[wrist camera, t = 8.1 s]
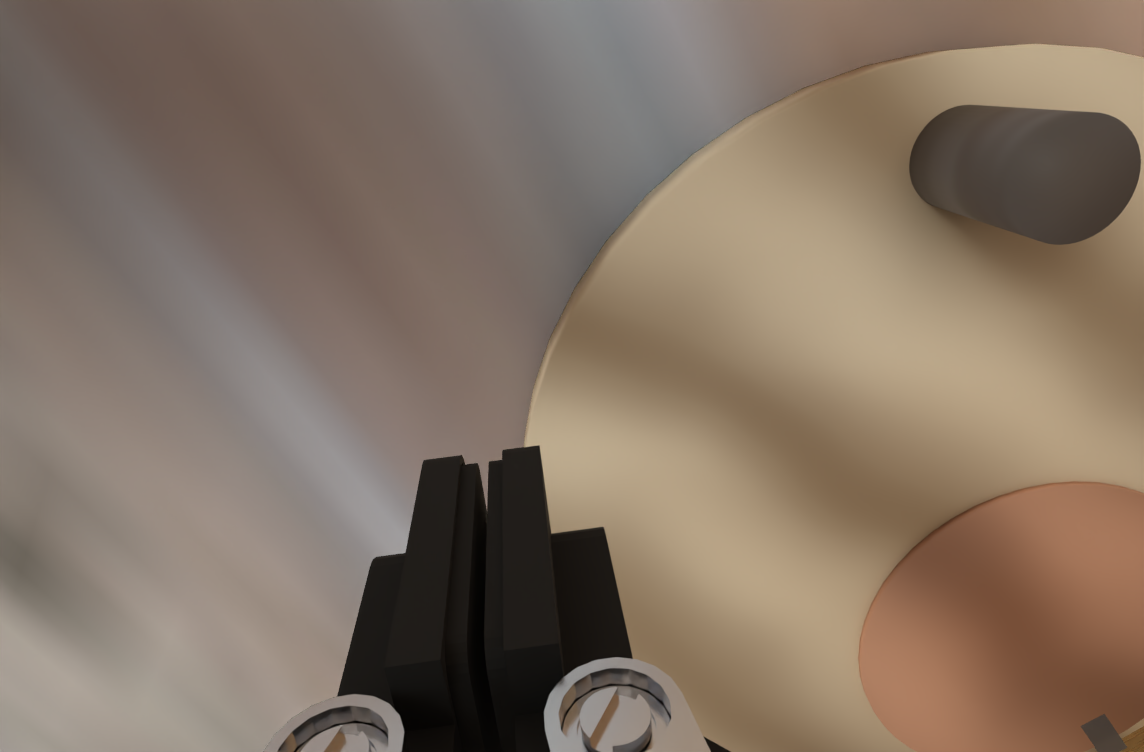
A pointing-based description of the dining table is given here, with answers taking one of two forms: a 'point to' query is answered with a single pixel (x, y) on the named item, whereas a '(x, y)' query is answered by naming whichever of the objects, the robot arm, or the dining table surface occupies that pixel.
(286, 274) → the dining table surface
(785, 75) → the dining table surface
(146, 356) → the dining table surface
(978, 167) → the turntable
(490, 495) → the robot arm
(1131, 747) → the wooden toy cube
